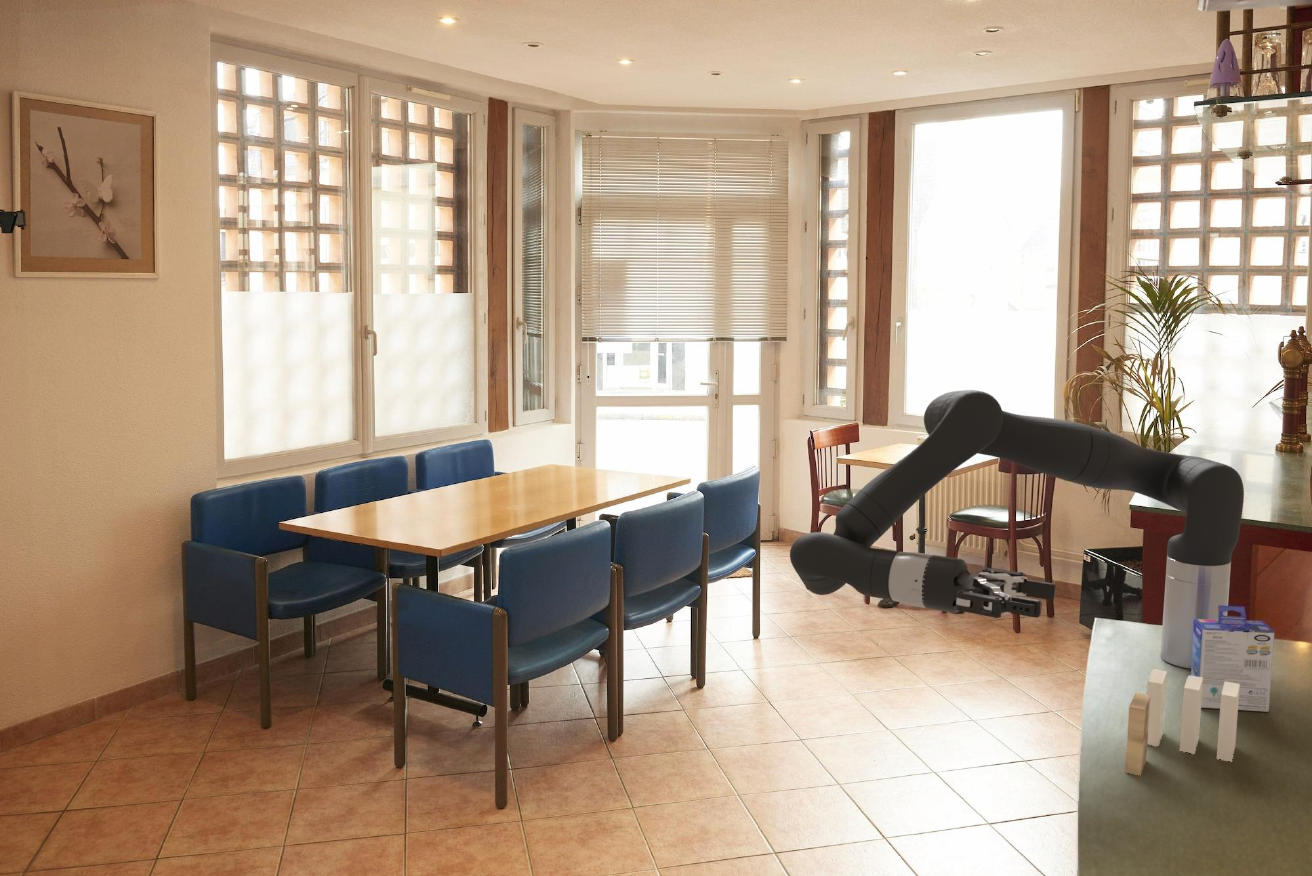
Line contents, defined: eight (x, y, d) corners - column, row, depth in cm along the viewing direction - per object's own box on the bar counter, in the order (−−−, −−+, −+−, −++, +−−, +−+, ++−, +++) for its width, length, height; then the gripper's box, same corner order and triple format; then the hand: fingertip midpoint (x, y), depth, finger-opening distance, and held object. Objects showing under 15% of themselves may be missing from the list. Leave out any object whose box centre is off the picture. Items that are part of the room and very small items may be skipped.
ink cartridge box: (1258, 698, 160) (1265, 605, 157) (1271, 713, 154) (1279, 617, 152) (1186, 694, 162) (1192, 601, 159) (1197, 709, 156) (1204, 613, 154)
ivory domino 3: (1219, 744, 145) (1224, 681, 143) (1235, 747, 144) (1239, 684, 142) (1216, 759, 141) (1221, 694, 139) (1232, 762, 140) (1236, 697, 138)
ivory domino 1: (1149, 730, 149) (1153, 669, 148) (1163, 733, 149) (1167, 671, 147) (1143, 744, 145) (1147, 681, 144) (1158, 747, 144) (1162, 683, 143)
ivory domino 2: (1184, 737, 147) (1188, 675, 146) (1198, 740, 146) (1203, 677, 145) (1179, 751, 143) (1183, 687, 141) (1194, 754, 142) (1199, 690, 141)
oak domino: (1131, 757, 142) (1135, 693, 140) (1146, 760, 141) (1150, 695, 139) (1125, 772, 137) (1129, 706, 136) (1140, 776, 136) (1144, 709, 135)
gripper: (912, 567, 143) (1038, 587, 135) (944, 543, 155) (1061, 560, 147) (910, 621, 145) (1034, 643, 136) (941, 593, 157) (1057, 612, 148)
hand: (1048, 600), depth 142 cm, fingers open, 8 cm apart
